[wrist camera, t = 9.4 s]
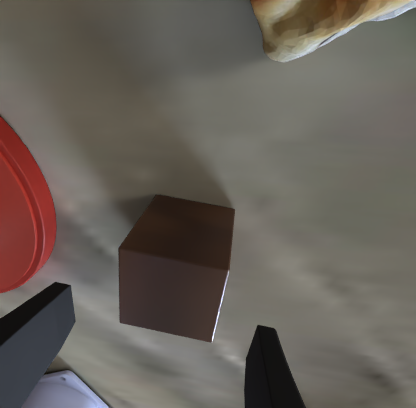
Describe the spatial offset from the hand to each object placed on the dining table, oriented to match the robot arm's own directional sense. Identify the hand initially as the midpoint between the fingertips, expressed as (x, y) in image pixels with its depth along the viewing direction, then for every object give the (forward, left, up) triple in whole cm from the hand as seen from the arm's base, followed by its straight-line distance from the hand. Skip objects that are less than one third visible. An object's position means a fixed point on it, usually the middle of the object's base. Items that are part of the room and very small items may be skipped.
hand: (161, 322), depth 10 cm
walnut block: (0, 0, -6) cm, 6 cm away
